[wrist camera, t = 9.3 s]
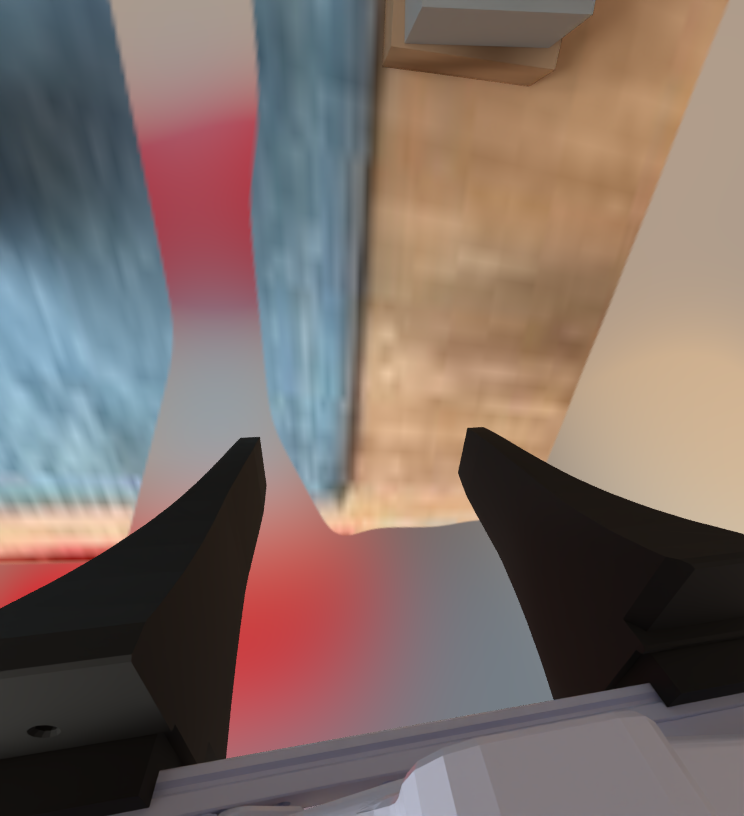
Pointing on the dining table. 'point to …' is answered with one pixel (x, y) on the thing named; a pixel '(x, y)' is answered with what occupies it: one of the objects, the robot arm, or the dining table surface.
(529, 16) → the top block
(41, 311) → the dining table surface
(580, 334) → the dining table surface
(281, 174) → the dining table surface
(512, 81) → the base block
